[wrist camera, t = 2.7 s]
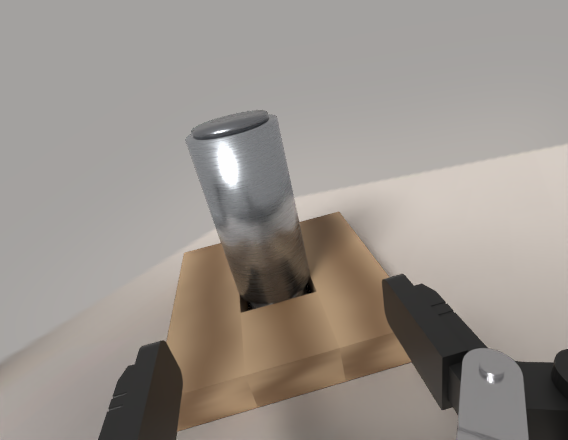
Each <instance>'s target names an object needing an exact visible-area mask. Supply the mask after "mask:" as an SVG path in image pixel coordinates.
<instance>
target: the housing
mask: <svg viewBox="0 0 568 440" xmlns="http://www.w3.org/2000/svg"><path fill="white" fill-rule="evenodd" d="M299 223H300V228H301V233H302V237H303V242H304V247H305V252H306V256H307V261H308V266H309V270H310V277H309V280H308V284H309V287H310V289H311V292H312V293H310V294H307V295H303V296H300V297H296V298H292V299H289V300H285V301H282V302H278V303H275V304H271V305H267V306H264V307H260V308H257V309H253V310H249V311H248V306H247V301H246V300H244V299H243V298H242V297H241V296H240V295H239V293H238V290H237V287H236V284H235V281H234V279H233V276H232V273H231V270H230V267H229V264H228V261H227V258H226V256H225V253H224V250H223V247H222V244H221V243H219V244H216V245H212V246H208V247H204V248H201V249H197V250H193V251H189V252H186V253H184V256H183V261H182V266H181V271H180V276H179V281H178V286H177V291H176V296H175V301H174V306H173V311H172V316H171V321H170V326H169V331H168V336H167V341H166V343H167V345H168V347H169V349H170V350H171V352H172V354H173V356H174V358H175V360H176V362H177V364H178V365H179V367H180V370H181V373H182V378H183V389H182V397H181V405H180V413H179V420H178V428H177V431H180V430H184V429H187V428H190V427H194V426H197V425H200V424H204V423H207V422H211V421H214V420H217V419H221V418H224V417H227V416H231V415H234V414H238V413H241V412H244V411H248V410H251V409H254V408H258V407H261V406H265V405H268V404H271V403H275V402H278V401H281V400H285V399H288V398H292V397H295V396H298V395H302V394H305V393H308V392H312V391H315V390H319V389H322V388H325V387H329V386H332V385H335V384H339V383H342V382H346V381H349V380H352V379H356V378H359V377H362V376H366V375H369V374H373V373H376V372H379V371H383V370H386V369H389V368H393V367H396V366H400V365H403V364H406V363H410V362H412V361H411V360H410V358H409V357H408V355H407V353H406V352H405V350H404V349H403V347H402V345H401V344H400V342H399V340H398V339H397V337H396V336H395V334H394V332H393V331H392V329H391V328H390V326H389V324H388V321H387V318H386V315H385V311H384V301H383V290H382V280H383V279H386V278H389V276H388V275H387V273H386V272H385V271H384V270H383V268H382V267H381V266H380V264H379V263H378V262H377V260H376V259H375V258H374V256H373V255H372V254H371V253H370V251H369V250H368V249H367V247H366V246H365V245H364V243H363V242H362V241H361V240H360V238H359V237H358V236H357V234H356V233H355V232H354V230H353V229H352V228H351V226H350V225H349V224H348V223H347V221H346V220H345V219H344V217H343V216H342V215H341V213H340V212H336V213H332V214H328V215H324V216H321V217H317V218H313V219H309V220H306V221H302V222H299Z"/></svg>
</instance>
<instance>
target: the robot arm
mask: <svg viewBox="0 0 568 440" xmlns="http://www.w3.org/2000/svg"><path fill="white" fill-rule="evenodd" d="M382 290H383V301H384V311H385V315H386V318H387V321H388V324H389V326H390V328H391V329H392V331H393V332H394V334H395V336H396V337H397V339H398V340H399V342H400V344H401V345H402V347H403V349H404V350H405V352H406V353H407V355H408V357H409V358H410V360H411V361H412V363H413V365H414V366H415V368H416V369H417V371H418V373H419V374H420V376H421V378H422V379H423V381H424V382H425V384H426V386H427V387H428V389H429V390H430V392H431V394H432V395H433V397H434V399H435V400H436V402H437V403H438V405H439V407H440V408H441V410H444V409H448V408H451V407H453V408H454V410H455V411H456V413H457V414H458V428H457V437H456V440H568V349H565V350H562V351H560V352H559V353H558V354H557V355H556V357H555V359H554V363H548V362H518V361H514V360H513V359H511V358H510V357H509V356H507V355H506V354H504V353H502V352H499V351H497V350H493V349H489V348H487V347H486V346H485V345H484V343H483V342H482V341H481V340H480V339H479V338H478V337H477V336H476V335H475V334H474V333H473V331H472V330H471V329H470V328H469V327H468V326H467V325H466V324H465V323H464V322H463V321H462V319H461V318H460V317H459V316H458V315H457V314H456V313H454V312H453V310H452V309H451V307H450V306H449V305H448V304H446V303H445V301H444V300H443V299H442V298H441V296H440V295H439V294H438V293H437V292H436V291H434V290H433V289H431V288H429V287H427V286H425V285H423V284H419V285H415V286H414V285H413V284H412V283H411V282H410V281H409V280H408V278H407V277H406V276H405V275H404V274H400V275H396V276H393V277H389V278H386V279H383V280H382ZM182 389H183V378H182V373H181V370H180V367H179V365H178V364H177V362H176V360H175V358H174V356H173V354H172V352H171V350H170V349H169V347H168V345H167V343H166V342H165V341H159V342H155V343H152V344H148V345H145V346H142V347H141V348H140V349H139V352H138V356H137V359H136V362H135V364H134V365H130V366H128V367H127V368H126V370H125V371H124V373H123V374H122V376H121V377H120V378H119V380H118V382H117V385H116V388H115V391H114V394H113V399H112V400H111V403H110V405H109V408H108V409H109V412H107V414H106V417H105V420H104V423H103V426H102V429H101V432H100V435H99V438H98V440H176V436H177V428H178V420H179V413H180V405H181V397H182Z"/></svg>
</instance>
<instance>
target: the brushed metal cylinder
mask: <svg viewBox="0 0 568 440" xmlns="http://www.w3.org/2000/svg"><path fill="white" fill-rule="evenodd" d="M191 132H192V134H190V135H189V136H188V137H186V139H185V141H186V144H187V147H188V149H189V152H190V155H191V158H192V161H193V164H194V167H195V170H196V172H197V175H198V178H199V181H200V184H201V187H202V190H203V192H204V195H205V198H206V201H207V204H208V207H209V210H210V212H211V215H212V218H213V221H214V224H215V227H216V230H217V233H218V236H219V238H220V241H221V244H222V247H223V250H224V253H225V256H226V258H227V261H228V264H229V267H230V270H231V273H232V276H233V279H234V281H235V284H236V287H237V290H238V293H239V295H240V296H241V297H242V298H243V299H244V300H246V301H248V302H250V304H251V307H252V310H253V309H257V308H260V307H264V306H267V305H271V304H275V303H278V302H282V301H285V300H289V299H292V298H296V297H300V296H303V295H307V292H306V288H305V285H306V284H307V282H308V280H309V277H310V270H309V266H308V261H307V256H306V252H305V247H304V242H303V237H302V233H301V228H300V223H299V219H298V214H297V209H296V204H295V200H294V195H293V190H292V186H291V181H290V176H289V171H288V167H287V162H286V157H285V153H284V148H283V143H282V138H281V134H280V129H279V124H278V120H277V116H275V115H269V114H268V112H267V111H263V110H256V111H247V112H241V113H236V114H232V115H228V116H224V117H221V118H217V119H214V120H211V121H208V122H205V123H203V124H201V125H198V126H196V127H195V128H193V129H192V130H191Z"/></svg>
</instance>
